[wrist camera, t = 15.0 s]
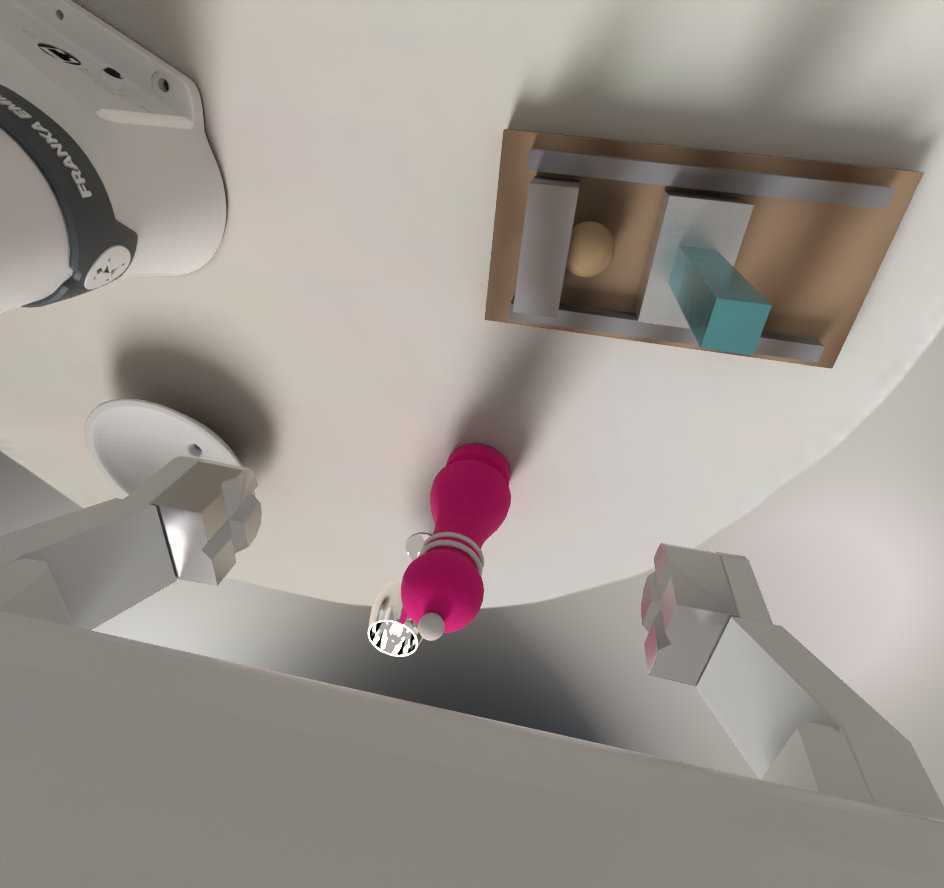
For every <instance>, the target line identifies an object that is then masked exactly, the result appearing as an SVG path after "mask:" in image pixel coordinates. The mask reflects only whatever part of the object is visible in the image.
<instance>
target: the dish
mask: <svg viewBox="0 0 944 888" xmlns="http://www.w3.org/2000/svg"><path fill="white" fill-rule="evenodd" d="M85 439H86V443H87V446H88V449H89V452H90V454H91V456H92V458H93V460H94V462H95V463H96V465H97V466H98V468H99V469H100V471H101V472H102V473H103V475H104V476H105V477H106V478H107V479H108V481H109V482H110V483H111V484H112V485H113V486H114V487H115V488H116V489H117V490H118V491H119V492H121V493H122V494H123V495H124V496H125V497H127V496H128V495H130V494H131V493H132V492H133V491H134V490H136V489H137V488H138V487H139V486H141V485H142V484H143V483H144V482H146V481H147V480H148V479H149V478H150V477H152V476H153V475H154V474H155V473H157V472H158V471H159V470H160V469H161V468H163V467H164V466H165V465H166V464H168V463H169V462H170V461H171V460H173V459H174V458H175V457H178V456H183V455H184V456H190V457H195V458H200V459H204V460H211V461H216V462H221V463H226V464H231V465H235V466H240V467H243V465H242V464H241V462H240V461H239V460H238V458H237V457H236V455H235V454H234V452H233V451H232V450H231V448H230V447H229V446H228V445H227V444H226V443H225V442H224V441H223V440H222V439H221V438H220V437H219V436H218V435H217V434H216V433H214V432H213V431H212V430H211V429H209V428H208V427H206V426H205V425H203V424H202V423H200V422H198V421H197V420H195V419H193V418H191V417H189V416H187V415H184V414H182V413H180V412H178V411H175V410H173V409H171V408H168V407H166V406H163V405H160V404H157V403H153V402H150V401H145V400H139V399H116V400H111V401H107V402H104V403H102V404H100V405H99V406H97V407H96V408H95V409H94V410H93V411H92V412H91V413H90V415H89V416H88V418H87V421H86V425H85ZM195 444H196V445H198V446H199V447H200V449H201V450H199V449H197V448H196V447H195ZM252 494H253V495H254V496H255V494H254V491H253V492H252Z"/></svg>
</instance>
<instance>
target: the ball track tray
mask: <svg viewBox="0 0 944 888" xmlns="http://www.w3.org/2000/svg"><path fill="white" fill-rule="evenodd" d="M922 175H923V173H922V172H916V171H910V170H902V169H892V168H882V167H873V166H863V165H853V164H843V163H833V162H824V161H814V160H804V159H794V158H785V157H775V156H765V155H755V154H746V153H736V152H726V151H716V150H706V149H697V148H687V147H677V146H667V145H658V144H648V143H638V142H628V141H619V140H609V139H599V138H589V137H579V136H570V135H560V134H550V133H540V132H531V131H521V130H511V129H504V131H503V141H502V151H501V161H500V171H499V181H498V191H497V201H496V211H495V221H494V231H493V242H492V252H491V262H490V272H489V282H488V292H487V302H486V312H485V320H491V321H498V322H505V323H513V324H520V325H527V326H534V327H541V328H548V329H555V330H562V331H569V332H576V333H584V334H591V335H598V336H605V337H612V338H619V339H626V340H633V341H640V342H647V343H655V344H662V345H669V346H676V347H683V348H690V349H697V350H704V351H711V352H718V353H726V354H733V355H740V356H747V357H754V358H761V359H768V360H775V361H782V362H789V363H797V364H804V365H811V366H818V367H825V368H833V366H834V364H835V361H836V359H837V357H838V355H839V353H840V351H841V349H842V346H843V344H844V342H845V340H846V338H847V336H848V334H849V331H850V329H851V327H852V325H853V323H854V321H855V319H856V317H857V314H858V312H859V310H860V308H861V306H862V304H863V302H864V299H865V297H866V295H867V293H868V291H869V289H870V287H871V284H872V282H873V280H874V278H875V276H876V274H877V272H878V269H879V267H880V265H881V263H882V261H883V259H884V257H885V254H886V252H887V250H888V248H889V246H890V244H891V242H892V239H893V237H894V235H895V233H896V231H897V229H898V227H899V225H900V222H901V220H902V218H903V216H904V214H905V212H906V210H907V207H908V205H909V203H910V201H911V199H912V197H913V195H914V192H915V190H916V188H917V186H918V184H919V182H920V180H921V177H922ZM664 190H666V191H675V192H684V193H693V194H702V195H711V196H720V197H729V198H738V199H743V200H745V201H747V202H749V203H751V204H753V205H754V207H753V210H752V213H751V216H750V219H749V222H748V225H747V228H746V231H745V234H744V237H743V240H742V243H741V246H740V249H739V252H738V256H737V259H736V262H735V265H734V268H735V269H736V270H737V271H738V272H739V273H740V274H741V275H742V276H743V277H744V278H745V279H746V280H747V281H748V282H749V283H750V284H751V285H752V286H753V287H754V288H755V289H756V290H757V291H758V292H759V293H760V294H761V295H762V296H763V297H764V298H765V299H766V300H767V301H768V302H769V303H770V304H771V305H772V307H771V309H770V312H769V314H768V317H767V320H766V322H765V325H764V328H763V330H762V333H761V336H760V338H759V341H758V343H757V346H756V349H755V351H754V354H753V356H752V355H745V354H738V353H731V352H724V351H717V350H710V349H702V348H700V346H699V344H698V342H697V340H696V338H695V336H694V334H693V332H692V330H691V329H688V328H681V327H674V326H666V325H659V324H652V323H644V322H638V320H637V316H636V312H635V305H636V301H637V297H638V293H639V289H640V285H641V280H642V276H643V272H644V268H645V264H646V260H647V256H648V252H649V248H650V244H651V240H652V236H653V232H654V228H655V223H656V219H657V215H658V211H659V207H660V203H661V199H662V195H663V191H664Z"/></svg>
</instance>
